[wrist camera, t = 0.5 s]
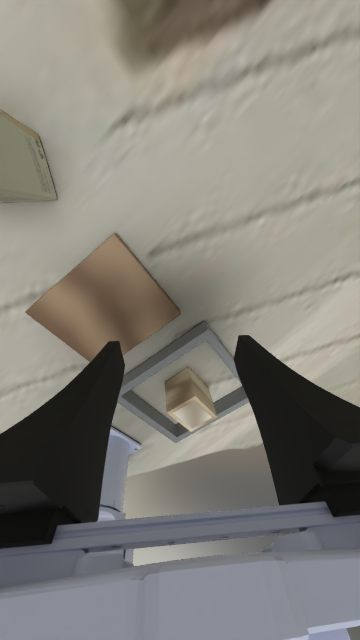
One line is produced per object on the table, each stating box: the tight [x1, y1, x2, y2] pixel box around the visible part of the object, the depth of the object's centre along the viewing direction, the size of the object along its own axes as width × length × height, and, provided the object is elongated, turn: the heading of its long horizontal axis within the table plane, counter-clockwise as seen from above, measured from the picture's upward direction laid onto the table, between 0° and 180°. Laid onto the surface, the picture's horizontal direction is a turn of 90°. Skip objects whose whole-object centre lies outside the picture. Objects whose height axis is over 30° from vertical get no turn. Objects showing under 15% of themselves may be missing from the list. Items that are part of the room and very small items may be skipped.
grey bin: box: [117, 321, 249, 443], centre depth 27 cm, size 15×14×2 cm
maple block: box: [165, 367, 217, 432], centre depth 25 cm, size 4×5×5 cm
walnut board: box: [25, 233, 181, 362], centre depth 21 cm, size 12×10×1 cm
